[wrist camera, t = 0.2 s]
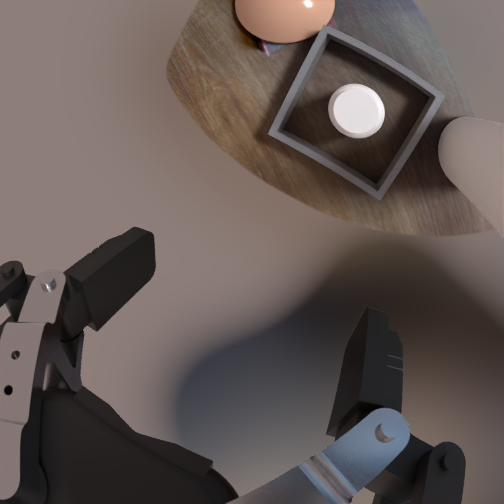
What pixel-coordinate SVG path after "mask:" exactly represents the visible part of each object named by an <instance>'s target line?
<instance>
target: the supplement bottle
mask: <svg viewBox="0 0 504 504" xmlns="http://www.w3.org/2000/svg"><path fill="white" fill-rule="evenodd" d="M328 112H329V117H330V119H331V122H332V123H333V125H334V126H335V128H336V129H337V130H338V131H340V132H341V133H342V134H344V135H346V136H349V137H352V138H366V137H369V136H371V135H373V134H374V133H376V132H377V131H378V130H379V129H380V127H381V126H382V124H383V121H384V116H385V111H384V106H383V103H382V101H381V99H380V97H379V96H378V95H377V94H376V93H375V92H374V91H373V90H372V89H370V88H368V87H366V86H364V85H360V84H347V85H344V86H342V87H340V88H339V89H337V90H336V91H335V92H334V93H333V95H332V96H331V98H330V101H329V106H328Z"/></svg>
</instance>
